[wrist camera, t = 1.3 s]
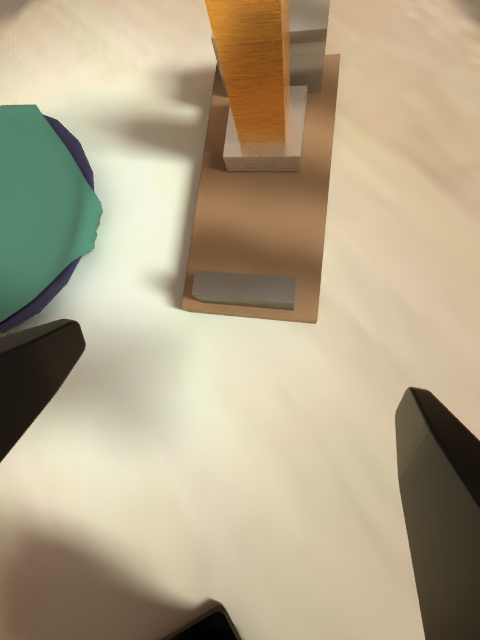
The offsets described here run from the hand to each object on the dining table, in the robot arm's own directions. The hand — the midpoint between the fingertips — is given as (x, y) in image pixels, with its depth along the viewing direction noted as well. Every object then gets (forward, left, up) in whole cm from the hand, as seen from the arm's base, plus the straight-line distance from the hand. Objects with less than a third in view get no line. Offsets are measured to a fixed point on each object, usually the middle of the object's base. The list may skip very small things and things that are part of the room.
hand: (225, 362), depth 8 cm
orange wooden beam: (+11, +15, -11) cm, 22 cm away
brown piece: (+7, +11, -13) cm, 18 cm away
